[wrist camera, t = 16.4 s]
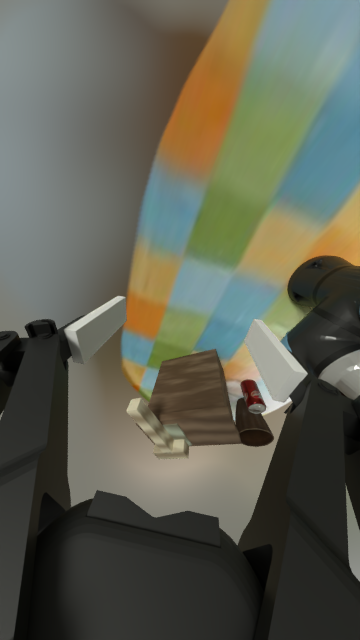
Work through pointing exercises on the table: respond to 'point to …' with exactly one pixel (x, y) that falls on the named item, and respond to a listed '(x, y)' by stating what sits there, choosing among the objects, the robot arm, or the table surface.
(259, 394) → the soda can
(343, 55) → the table surface
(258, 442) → the plant pot
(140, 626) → the robot arm
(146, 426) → the cream flat bar
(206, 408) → the wooden block with lid
